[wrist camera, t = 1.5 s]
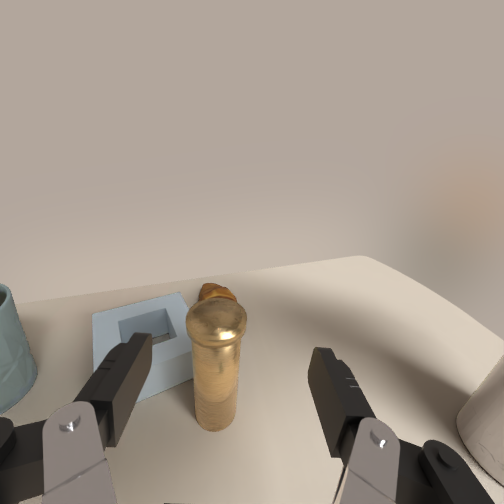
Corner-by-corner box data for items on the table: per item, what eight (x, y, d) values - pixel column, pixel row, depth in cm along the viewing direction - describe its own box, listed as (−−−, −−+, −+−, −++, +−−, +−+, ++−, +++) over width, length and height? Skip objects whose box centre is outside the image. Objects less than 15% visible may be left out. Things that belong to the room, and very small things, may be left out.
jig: (181, 315, 41) (179, 291, 39) (207, 371, 32) (207, 344, 30) (99, 340, 36) (92, 314, 33) (104, 417, 27) (93, 388, 24)
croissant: (188, 295, 47) (186, 273, 44) (221, 287, 50) (221, 266, 48) (213, 346, 36) (213, 320, 34) (253, 331, 39) (255, 307, 37)
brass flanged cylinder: (226, 380, 31) (230, 292, 25) (247, 419, 27) (258, 326, 21) (185, 399, 29) (177, 307, 22) (201, 446, 25) (197, 349, 18)
